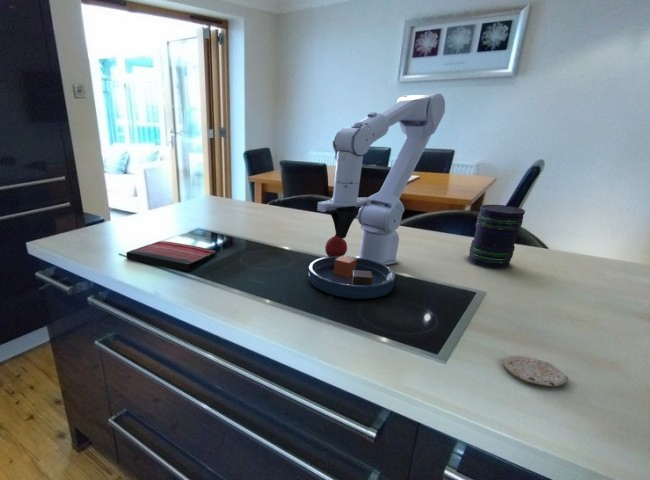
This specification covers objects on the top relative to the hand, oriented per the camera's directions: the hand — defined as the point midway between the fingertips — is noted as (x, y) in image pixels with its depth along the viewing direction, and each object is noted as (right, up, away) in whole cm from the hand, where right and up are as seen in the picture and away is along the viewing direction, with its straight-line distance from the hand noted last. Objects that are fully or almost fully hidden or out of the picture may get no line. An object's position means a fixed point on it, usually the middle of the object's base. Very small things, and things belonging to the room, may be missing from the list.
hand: (340, 237), depth 97 cm
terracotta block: (+1, -9, +1) cm, 9 cm away
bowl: (+1, -11, -3) cm, 12 cm away
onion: (+2, -6, +11) cm, 13 cm away
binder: (-44, -5, +15) cm, 46 cm away
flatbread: (+20, -25, -36) cm, 48 cm away
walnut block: (+2, -13, -8) cm, 15 cm away
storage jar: (+43, -6, +10) cm, 45 cm away
